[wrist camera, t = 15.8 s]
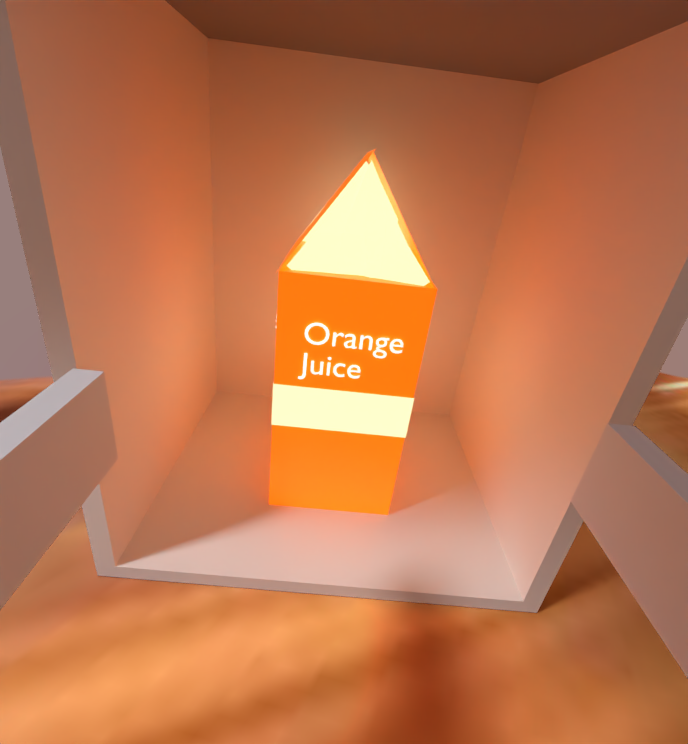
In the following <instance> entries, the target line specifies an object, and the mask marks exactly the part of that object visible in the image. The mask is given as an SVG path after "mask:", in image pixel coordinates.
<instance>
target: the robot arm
mask: <svg viewBox="0 0 688 744" xmlns="http://www.w3.org/2000/svg"><path fill="white" fill-rule="evenodd" d="M117 460H118V454H117V448H116V442H115V436H114V430H113V423H112V417H111V411H110V405H109V399H108V393H107V387H106V381H105V374H104V372H103V371H93V370H84V369H74V368H73V369H72V370H70V371H69V372H67V373H66V374H65V375H63V376H62V377H61V378H59V379H58V380H57V381H55V382H54V383H53V384H51V385H50V386H49V387H47V388H46V389H45V390H43V391H42V392H41V393H39V394H38V395H37V396H35V397H34V398H33V399H31V400H30V401H29V402H27V403H26V404H25V405H23V406H22V407H21V408H19V409H18V410H17V411H15V412H14V413H13V414H11V415H10V416H9V417H7V418H6V419H5V420H3V421H2V422H1V423H0V610H1V609H2V607H3V606H4V605H5V604H6V602H7V601H8V600H9V598H10V597H11V596H12V595H13V593H14V592H15V591H16V589H17V588H18V587H19V586H20V584H21V583H22V582H23V580H24V579H25V578H26V577H27V575H28V574H29V573H30V571H31V570H32V569H33V568H34V566H35V565H36V564H37V562H38V561H39V560H40V559H41V557H42V556H43V555H44V553H45V552H46V551H47V550H48V548H49V547H50V546H51V544H52V543H53V542H54V541H55V539H56V538H57V537H58V535H59V534H60V533H61V532H62V530H63V529H64V528H65V526H66V525H67V524H68V523H69V521H70V520H71V519H72V517H73V516H74V515H75V514H76V512H77V511H78V510H79V508H80V507H81V506H82V505H83V503H84V502H85V501H86V499H87V498H88V497H89V496H90V494H91V493H92V492H93V490H94V489H95V488H96V487H97V485H98V484H99V483H100V481H101V480H102V479H103V478H104V476H105V475H106V474H107V472H108V471H109V470H110V469H111V467H112V466H113V465H114V463H115V462H116V461H117ZM571 502H572V504H573V505H574V507H575V509H576V510H577V512H578V513H579V515H580V516H581V518H582V519H583V521H584V522H585V524H586V525H587V527H588V528H589V530H590V531H591V533H592V534H593V536H594V537H595V539H596V540H597V542H598V543H599V545H600V546H601V548H602V549H603V551H604V552H605V554H606V556H607V557H608V559H609V560H610V562H611V563H612V565H613V566H614V568H615V569H616V571H617V572H618V574H619V575H620V577H621V578H622V580H623V581H624V583H625V584H626V586H627V587H628V589H629V590H630V592H631V593H632V595H633V596H634V598H635V599H636V601H637V603H638V604H639V606H640V607H641V609H642V610H643V612H644V613H645V615H646V616H647V618H648V619H649V621H650V622H651V624H652V625H653V627H654V628H655V630H656V631H657V633H658V634H659V636H660V637H661V639H662V640H663V642H664V643H665V645H666V646H667V648H668V650H669V651H670V653H671V654H672V656H673V657H674V659H675V660H676V662H677V663H678V665H679V666H680V668H681V669H682V671H683V672H684V674H685V675H686V677H687V678H688V474H687V473H686V472H685V471H684V470H683V469H682V468H681V467H680V466H678V465H677V464H676V463H675V462H674V461H673V460H672V459H671V458H670V457H669V456H667V455H666V454H665V453H664V452H663V451H662V450H661V449H660V448H659V447H658V446H657V445H655V444H654V443H653V442H652V441H651V440H650V439H649V438H648V437H647V436H646V435H644V434H643V433H642V432H641V431H640V430H639V429H638V428H637V427H636V426H630V425H620V424H610V423H607V425H606V427H605V430H604V432H603V434H602V436H601V438H600V440H599V442H598V444H597V446H596V448H595V451H594V453H593V455H592V457H591V459H590V461H589V463H588V465H587V467H586V470H585V472H584V474H583V476H582V478H581V480H580V482H579V484H578V486H577V488H576V491H575V493H574V495H573V497H572V499H571Z"/></svg>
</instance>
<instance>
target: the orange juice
mask: <svg viewBox="0 0 688 744" xmlns="http://www.w3.org/2000/svg"><path fill="white" fill-rule="evenodd" d="M374 151H375V149H374V150H372V151H370V152H368V153H367V154H366V155H365V156H364V157H363V159H362V160H361V161H360V162H359V164H358V165H357V166H356V167H355V169H354V170H353V171H352V172H351V174H350V175H349V176H348V177H347V179H346V180H345V181H344V182H343V184H342V185H341V186H340V187H339V189H338V190H337V191H336V192H335V194H334V195H333V196H332V198H331V199H330V200H329V201H328V203H327V204H326V205H325V206H324V208H323V209H322V210H321V211H320V212H319V213H318V214H317V216H316V217H315V218H314V220H313V221H312V222H311V223H310V225H309V226H308V227H307V229H306V230H305V231H304V232H303V234H302V235H301V236H300V238H299V239H298V240H297V241H296V243H295V244H294V246H293V247H292V249H291V250H290V252H289V254H288V255H287V257H286V258H285V260H284V261H283V263H282V264H281V266H282V267H281V266H280V268H279V269H280V270H279V269H278V270H279V277H278V300H277V316H276V318H277V320H276V321H277V323H276V346H275V369H274V383H273V397H272V421H271V425H272V438H271V461H270V484H269V505H280V506H291V507H302V508H313V509H325V510H336V511H347V512H358V513H370V514H381V515H388V512H389V508H390V503H391V499H392V494H393V490H394V485H395V480H396V476H397V471H398V467H399V462H400V458H401V453H402V449H403V444H404V439H405V438H406V434H407V430H408V425H409V420H410V416H411V411H412V407H413V402H414V394H415V389H416V385H417V380H418V375H419V371H420V366H421V362H422V357H423V353H424V348H425V343H426V339H427V334H428V330H429V325H430V321H431V316H432V311H433V307H434V302H435V298H436V294H437V288H436V286H435V285H434V284H433V282H432V281H431V279H430V277H429V275H428V273H427V270H426V268H425V266H424V264H423V262H422V259H421V257H420V255H419V253H418V250H417V248H416V246H415V244H414V241H413V239H412V237H411V235H410V232H409V230H408V228H407V226H406V224H405V221H404V219H403V217H402V215H401V212H400V210H399V208H398V206H397V203H396V201H395V199H394V197H393V194H392V192H391V190H390V188H389V185H388V183H387V181H386V179H385V177H384V174H383V172H382V170H381V168H380V165H379V163H378V161H377V159H376V156H375V154H374ZM367 160H368V162H369V165H368V163H367ZM276 273H277V272H276Z"/></svg>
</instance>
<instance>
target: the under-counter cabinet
mask: <svg viewBox="0 0 688 744" xmlns="http://www.w3.org/2000/svg"><path fill="white" fill-rule="evenodd" d="M0 147H1V151H2V156H3V160H4V165H5V169H6V173H7V178H8V182H9V187H10V191H11V196H12V200H13V204H14V209H15V213H16V218H17V222H18V226H19V230H20V235H21V239H22V244H23V249H24V253H25V257H26V261H27V266H28V271H29V275H30V279H31V284H32V288H33V292H34V297H35V301H36V306H37V310H38V315H39V319H40V324H41V328H42V332H43V337H44V341H45V346H46V350H47V354H48V359H49V363H50V367H51V372H52V376H53V381H54V382H55V381H57V380H58V379H59V378H61V377H62V376H63V375H65V374H66V373H67V372H69V371H70V370H72V369H73V368H74V369H84V370H93V371H103V372H104V374H105V381H106V387H107V393H108V399H109V405H110V411H111V417H112V423H113V430H114V436H115V442H116V448H117V454H118V460H117V461H116V462H115V463H114V465H113V466H112V467H111V469H110V470H109V471H108V472H107V474H106V475H105V476H104V478H103V479H102V480H101V481H100V483H99V484H98V485H97V487H96V488H95V489H94V490H93V492H92V493H91V494H90V496H89V497H88V498H87V499H86V501H85V502H84V503H83V505H82V509H83V513H84V518H85V522H86V527H87V531H88V535H89V540H90V544H91V549H92V553H93V557H94V562H95V566H96V571H97V575H98V576H109V577H121V578H133V579H145V580H156V581H168V582H180V583H192V584H203V585H215V586H227V587H239V588H251V589H262V590H274V591H286V592H298V593H309V594H321V595H333V596H345V597H357V598H368V599H380V600H392V601H404V602H415V603H427V604H439V605H451V606H463V607H474V608H486V609H498V610H510V611H521V612H533V613H537V612H538V610H539V608H540V606H541V604H542V602H543V600H544V598H545V596H546V594H547V592H548V590H549V588H550V586H551V584H552V582H553V580H554V578H555V576H556V574H557V572H558V570H559V568H560V566H561V565H562V563H563V561H564V559H565V557H566V555H567V553H568V551H569V549H570V547H571V545H572V543H573V541H574V539H575V537H576V535H577V533H578V531H579V529H580V527H581V525H582V523H583V519H582V518H581V516H580V515H579V513H578V512H577V510H576V509H575V507H574V505H573V504H572V502H571V499H572V497H573V495H574V493H575V491H576V488H577V486H578V484H579V482H580V480H581V478H582V476H583V474H584V472H585V470H586V467H587V465H588V463H589V461H590V459H591V457H592V455H593V453H594V451H595V448H596V446H597V444H598V442H599V440H600V438H601V436H602V434H603V432H604V430H605V427H606V425H607V423H610V424H620V425H630V426H632V425H633V423H634V421H635V419H636V417H637V415H638V414H639V412H640V410H641V408H642V406H643V404H644V402H645V400H646V398H647V396H648V394H649V392H650V390H651V388H652V386H653V384H654V382H655V380H656V378H657V376H658V374H659V372H660V370H661V368H662V366H663V364H664V362H665V361H666V359H667V357H668V355H669V353H670V351H671V348H672V347H673V345H674V343H675V341H676V339H677V337H678V335H679V333H680V331H681V329H682V327H683V325H684V323H685V321H686V319H687V317H688V0H0ZM374 149H375V151H374V154H375V156H376V159H377V161H378V163H379V165H380V168H381V170H382V172H383V174H384V177H385V179H386V181H387V183H388V185H389V188H390V190H391V192H392V194H393V197H394V199H395V201H396V203H397V206H398V208H399V210H400V212H401V215H402V217H403V219H404V221H405V224H406V226H407V228H408V230H409V232H410V235H411V237H412V239H413V241H414V244H415V246H416V248H417V250H418V253H419V255H420V257H421V259H422V262H423V264H424V266H425V268H426V270H427V273H428V275H429V277H430V279H431V281H432V282H433V284H434V285H435V286H436V288H437V294H436V298H435V302H434V307H433V311H432V316H431V321H430V325H429V330H428V334H427V339H426V343H425V348H424V353H423V357H422V362H421V366H420V371H419V375H418V380H417V385H416V389H415V394H414V402H413V407H412V411H411V416H410V420H409V425H408V430H407V434H406V438H405V439H404V444H403V449H402V453H401V458H400V462H399V467H398V471H397V476H396V480H395V485H394V490H393V494H392V499H391V503H390V508H389V512H388V515H381V514H370V513H358V512H347V511H336V510H325V509H313V508H302V507H291V506H280V505H269V484H270V461H271V438H272V425H271V421H272V397H273V383H274V369H275V346H276V323H277V321H276V320H277V318H276V316H277V300H278V277H279V270H280V269H279V268H280V266H281V264H282V263H283V261H284V260H285V258H286V257H287V255H288V254H289V252H290V250H291V249H292V247H293V246H294V244H295V243H296V241H297V240H298V239H299V238H300V236H301V235H302V234H303V232H304V231H305V230H306V229H307V227H308V226H309V225H310V223H311V222H312V221H313V220H314V218H315V217H316V216H317V214H318V213H319V212H320V211H321V210H322V209H323V208H324V206H325V205H326V204H327V203H328V201H329V200H330V199H331V198H332V196H333V195H334V194H335V192H336V191H337V190H338V189H339V187H340V186H341V185H342V184H343V182H344V181H345V180H346V179H347V177H348V176H349V175H350V174H351V172H352V171H353V170H354V169H355V167H356V166H357V165H358V164H359V162H360V161H361V160H362V159H363V157H364V156H365V155H366V154H367V153H368V152H370V151H372V150H374ZM367 163H368V165H369V162H368V160H367ZM281 267H282V266H281ZM278 269H279V270H278ZM276 272H277V273H276Z"/></svg>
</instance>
